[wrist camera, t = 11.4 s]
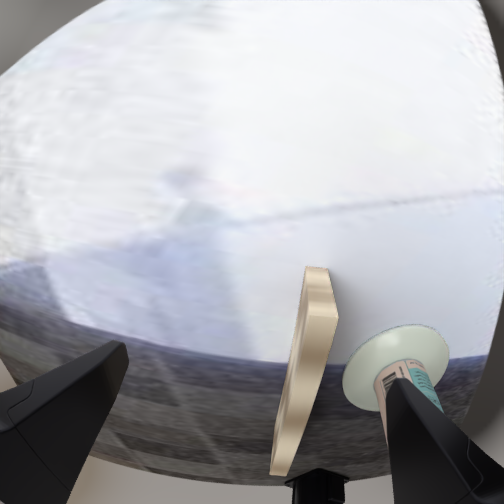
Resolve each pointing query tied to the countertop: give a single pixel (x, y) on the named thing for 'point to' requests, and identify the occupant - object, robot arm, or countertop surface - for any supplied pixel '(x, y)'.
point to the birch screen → (304, 365)
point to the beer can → (403, 370)
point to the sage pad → (392, 360)
